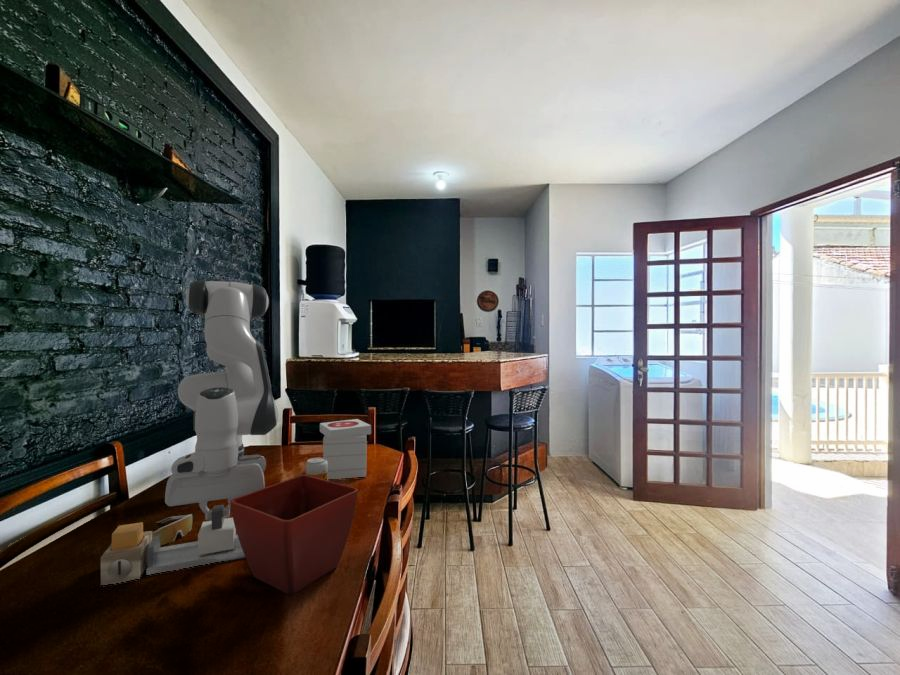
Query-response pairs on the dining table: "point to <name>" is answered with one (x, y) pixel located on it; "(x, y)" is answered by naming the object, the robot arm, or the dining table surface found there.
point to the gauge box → (125, 562)
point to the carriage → (216, 533)
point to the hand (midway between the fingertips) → (217, 517)
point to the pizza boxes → (345, 448)
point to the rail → (186, 556)
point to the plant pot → (294, 530)
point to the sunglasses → (174, 528)
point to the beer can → (317, 468)
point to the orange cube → (127, 536)
